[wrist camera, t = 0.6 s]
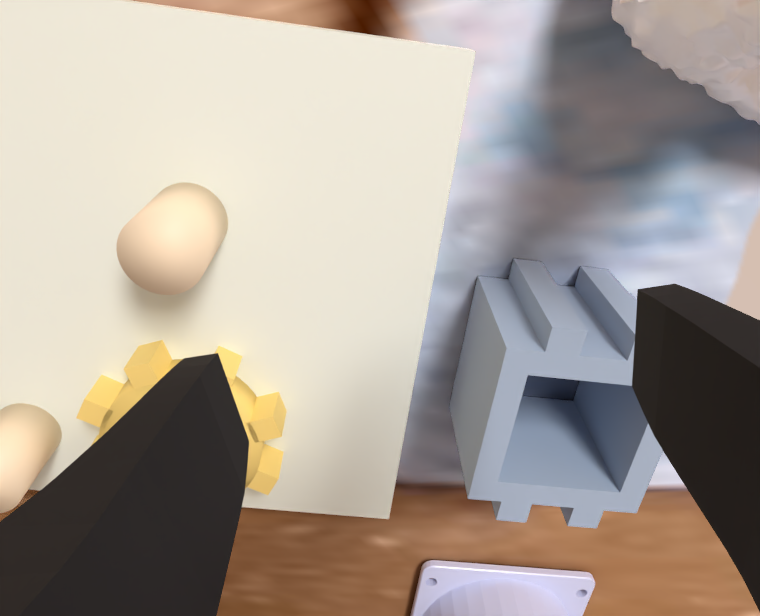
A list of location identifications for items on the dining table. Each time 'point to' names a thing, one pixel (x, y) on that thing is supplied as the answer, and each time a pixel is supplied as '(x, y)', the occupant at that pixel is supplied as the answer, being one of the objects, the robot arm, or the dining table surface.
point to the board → (292, 209)
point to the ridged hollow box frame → (552, 416)
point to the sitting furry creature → (701, 44)
